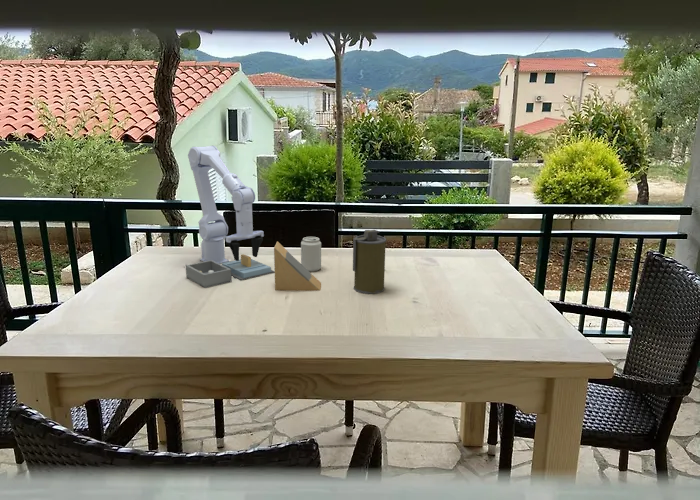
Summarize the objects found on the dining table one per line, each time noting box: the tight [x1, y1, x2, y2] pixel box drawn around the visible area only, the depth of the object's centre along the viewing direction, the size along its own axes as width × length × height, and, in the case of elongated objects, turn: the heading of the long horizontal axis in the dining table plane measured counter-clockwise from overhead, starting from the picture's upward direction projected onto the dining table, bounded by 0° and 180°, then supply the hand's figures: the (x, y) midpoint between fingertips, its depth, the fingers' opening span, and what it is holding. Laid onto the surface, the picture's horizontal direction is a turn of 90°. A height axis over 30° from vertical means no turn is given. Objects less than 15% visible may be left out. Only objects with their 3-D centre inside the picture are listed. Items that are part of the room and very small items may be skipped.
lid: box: [221, 253, 272, 278], centre depth 189 cm, size 15×11×5 cm
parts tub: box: [185, 260, 233, 289], centre depth 180 cm, size 14×10×4 cm
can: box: [300, 236, 322, 273], centre depth 192 cm, size 8×8×12 cm
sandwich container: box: [273, 241, 322, 292], centre depth 174 cm, size 9×15×15 cm, turn 92°
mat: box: [231, 269, 275, 281], centre depth 190 cm, size 16×14×1 cm
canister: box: [352, 229, 387, 295], centre depth 172 cm, size 11×10×20 cm
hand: (245, 258), depth 189 cm, fingers open, 7 cm apart
